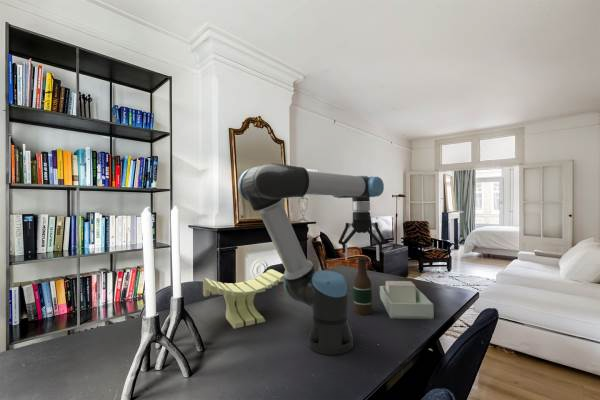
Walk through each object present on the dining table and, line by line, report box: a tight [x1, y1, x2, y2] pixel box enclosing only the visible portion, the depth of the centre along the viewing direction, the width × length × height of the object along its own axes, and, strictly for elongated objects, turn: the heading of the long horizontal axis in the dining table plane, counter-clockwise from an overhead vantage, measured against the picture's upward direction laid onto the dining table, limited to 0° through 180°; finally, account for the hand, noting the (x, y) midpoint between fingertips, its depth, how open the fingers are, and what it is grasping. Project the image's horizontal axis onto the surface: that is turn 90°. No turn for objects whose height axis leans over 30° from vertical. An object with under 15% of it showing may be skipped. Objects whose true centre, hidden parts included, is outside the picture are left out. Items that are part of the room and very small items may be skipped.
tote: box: [379, 285, 435, 320], centre depth 132 cm, size 17×26×6 cm, turn 174°
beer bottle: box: [352, 255, 373, 316], centre depth 127 cm, size 8×8×24 cm
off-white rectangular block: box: [385, 280, 417, 303], centre depth 139 cm, size 12×8×8 cm, turn 84°
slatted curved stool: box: [202, 268, 285, 330], centre depth 123 cm, size 30×16×18 cm, turn 119°
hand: (362, 260), depth 128 cm, fingers open, 13 cm apart
